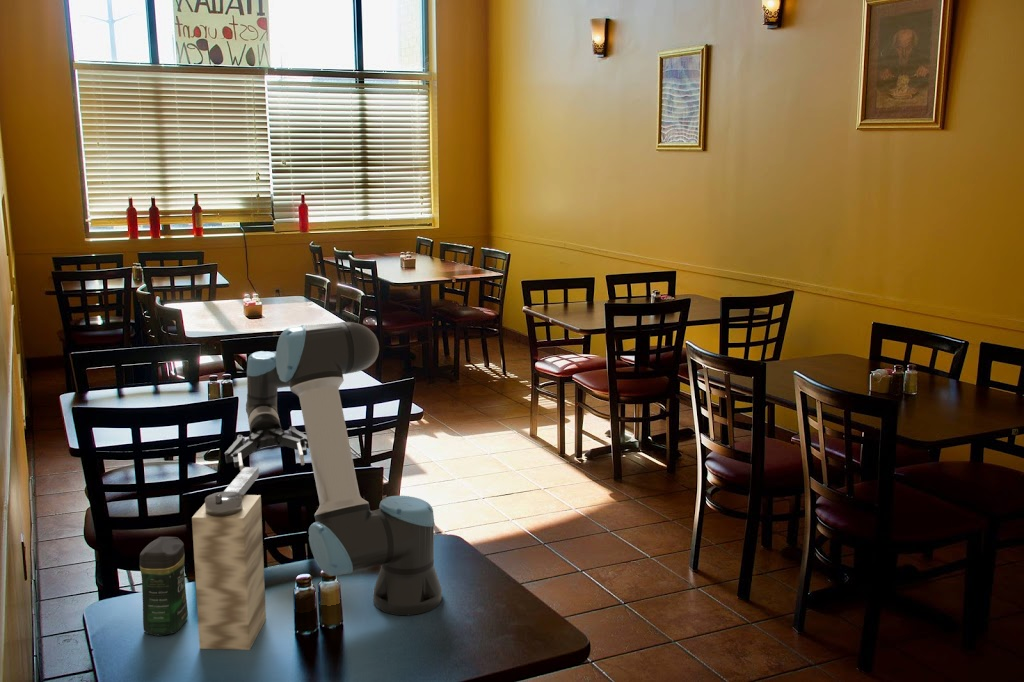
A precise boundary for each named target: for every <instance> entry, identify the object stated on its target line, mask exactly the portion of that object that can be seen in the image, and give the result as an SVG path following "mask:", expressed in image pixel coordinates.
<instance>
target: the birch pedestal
mask: <svg viewBox="0 0 1024 682" xmlns="http://www.w3.org/2000/svg"><path fill="white" fill-rule="evenodd" d="M261 496H262V495H261V494H258V495H257V494H244V495H243V497H242V506H243V509H242V511H240V512H239V513H237V514H234V515H231V516H225V517H214V516H210V515H207V514H206V510H205V502H204V503H203V504H202V506H201V507H199V509H198V510H196V512H195V513H194V514H193V516H192V517H191V524H192V525H191V527H192V541H193V543H192V544H193V560H194V572H195V573H194V576H195V593H196V594H195V595H196V609H197V611H196V612H197V624H198V645H199V649H200V650H205V649H206V650H240V651H241V650H243V651H245V650H246V651H247V650H249V651H251V650H250V649H251V648H252V646H253V645H254V642H255V640H257V639H256V638H257V637H258V635H259V633H260V631H261V629H262V628H263V626H264V624H265V623H266V620H267V613H266V612H267V611H266V590H265V589H266V587H265V585H266V584H265V566H264V565H265V563H264V561H265V560H264V545H263V544H264V542H263V541H264V539H263V521H262V520H263V518H262V517H263V516H262V497H261Z"/></svg>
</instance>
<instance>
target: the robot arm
mask: <svg viewBox="0 0 1024 682" xmlns="http://www.w3.org/2000/svg"><path fill="white" fill-rule="evenodd" d="M379 344H380V343H379V340H378V338H377V335H376V334H375V333H374V332H373V331H372V330H371V329H370V328H369V327H367V326H366V325H363V324H360V323H357V322H352V321H343V322H337V323H336V322H335V323H321V324H320V323H319V324H308V325H307V324H305V325H304V324H302V325H300V326H295V327H293V326H292V327H288V328H286V329H284V330H283V331H282V332H281V334H280V336H279V337H278V340H277V344H276V350H275V351H276V352H275V353H274V352H272V351H270V350H269V351H267V350H266V351H264V350H260V351H255V352H253V353H250V354H249V356H248V357H247V363H246V364H247V365H246V367H247V368H246V383H247V384H246V385H247V387H246V388H247V389H246V391H247V394H246V404H245V411H246V412H245V413H246V414H247V419H248V421H247V422H248V427H249V428H248V429H249V436H243V434H238V435H237V436H236V439H235V441H233V443H232V444H231V445H230V446H229V447H228V449H227V450H225V452H224V456H225V457H224V458H225V463H226V464H230V463H232V462H233V466H234V468H239V471H240V472H241V471H242V470H243V468H244V463H243V460H244V459H245V458H246V457H247V456H249V455H251V454H252V453H254V452H258V451H259V450H260V449H262V448H267V447H273V446H277V447H281V448H282V447H286V448H290V449H293V450H297V453H298V456H299V461H300V466H304V465H305V458H304V456H307V455H308V450H309V455H310V462H311V465H312V471H313V476H314V480H315V481H314V482H315V487H316V491H317V496H318V502H319V506H318V509H316V512H315V513H314V519H315V522H313V523H311V525H310V526H309V528H308V535H309V536H308V542H309V547H310V550H311V554H312V555H313V558H314V560H315V562H316V564H317V566H318V567H319V568H320V570H321V571H322V572H323V573H324V574H325V575H328V576H331V577H335V576H336V577H337V576H341V575H349V574H352V573H355V572H359V571H363V570H366V569H369V568H375V567H378V566H380V570H379V572H378V576H377V579H376V582H375V584H374V585H375V586H374V588H373V604H374V606H375V607H376V608H377V609H379V610H380V611H382V612H384V613H386V614H391V615H396V616H415V615H419V614H424V613H427V612H430V611H432V610H433V609H436V607H438V606H439V604H440V603H441V602H442V598H443V597H442V594H443V593H442V592H443V591H442V590H443V589H442V586H441V582H440V579H439V576H438V573H437V571H436V568H435V564H434V563H435V559H434V558H435V555H434V554H435V548H434V547H435V525H436V524H435V518H434V517H435V516H434V510H433V509H434V508H433V506H432V505H431V504H430V503H429V502H428V501H426V500H424V499H422V498H419V497H415V496H410V495H391V496H387V497H385V498H383V499H382V500H381V501H380V503H379V508H378V509H375V510H371V508H370V504H369V501H367V500H366V499H364V498H362V496H361V494H360V490H359V485H358V480H357V474H356V470H355V466H354V465H355V464H354V459H353V455H352V450H351V445H350V440H349V435H348V430H347V426H346V420H345V415H344V411H343V409H344V408H343V405H342V399H341V395H340V390H339V389H340V386H341V385H342V384H343V382H344V376H343V375H348V374H352V373H357V372H361V371H364V370H366V369H368V368H369V367H371V366H372V365H373V364H374V363H375V362H376V360H377V358H378V356H379V351H380V345H379ZM288 387H289V389H290V392H291V393H293V394H295V395H296V396H297V397H298V398H299V404H300V407H301V408H300V409H301V413H302V418H303V425H304V429H305V434H304V433H303V432H302V431H299V430H297V429H296V427H295V426H294V425H290V426H289V428H288V429H287V430H284V429H282V425H281V422H280V418H279V412H278V389H280V388H288ZM240 472H239V473H240Z"/></svg>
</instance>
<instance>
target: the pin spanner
mask: <svg viewBox="0 0 1024 682" xmlns="http://www.w3.org/2000/svg"><path fill="white" fill-rule="evenodd" d="M259 473H260V471H259V467H257V466H256V467H254V466H253V467H252V466H251V467H250V466H243V470H242V471H241V472H239V473H238V474H237V475H236V476H235V478H234V479H232V481H231V482H230V483H229V485H228V486H227V487H226V488H225V489H224V490H223V491H219V492H214V493H212V494H209V495H207V496H206V497H205V498H204V503H205V510H206V514H207V515H210V516H214V517H225V516H231V515H234V514H237V513H239V512H240V511H242V509H243V506H242V497H243V495H246V493H247V491H248V490H249V489H250V488H251V487H252V485H253V484H254V483H255V482H256V480H257V479H258V478H259V476H260V474H259Z"/></svg>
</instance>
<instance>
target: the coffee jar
mask: <svg viewBox="0 0 1024 682" xmlns="http://www.w3.org/2000/svg"><path fill="white" fill-rule="evenodd" d="M185 556H186V555H185V544H184V542H183V541H182V540H181V539H180V538H179V537H177V536H159V537H157V538H156V539H154V540H153V541H151V542H149V543H148V544H147V545H146V546H145V547H144V548H143V549H142V551H141V552H140V553H139V569H140V575H141V590H142V596H141V597H142V623H143V624H142V625H143V626H142V627H143V631H144V632H145V633H146V634H149V635H153V636H166V635H169V634H174V633H176V632H178V631H179V630H180V629H181V628H183V625H184V624H185V623H186V621H187V620H188V619H187V618H188V617H189V616H188V615H189V611H188V599H187V589H186V579H185V578H186V577H185Z"/></svg>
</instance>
